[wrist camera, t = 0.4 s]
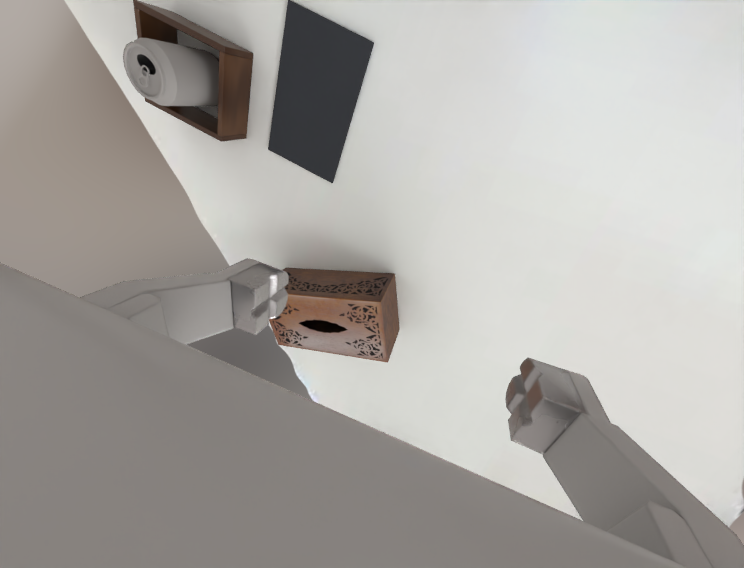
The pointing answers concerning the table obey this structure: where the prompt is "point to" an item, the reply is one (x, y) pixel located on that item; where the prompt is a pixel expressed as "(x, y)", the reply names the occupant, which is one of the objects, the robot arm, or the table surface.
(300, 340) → the tissue box cover
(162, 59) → the can
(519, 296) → the table surface
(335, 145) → the mat
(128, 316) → the robot arm
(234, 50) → the crate
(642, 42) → the table surface
